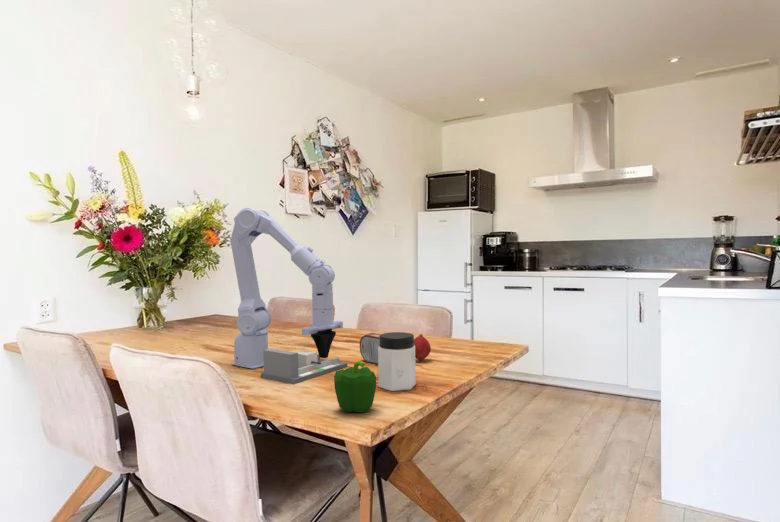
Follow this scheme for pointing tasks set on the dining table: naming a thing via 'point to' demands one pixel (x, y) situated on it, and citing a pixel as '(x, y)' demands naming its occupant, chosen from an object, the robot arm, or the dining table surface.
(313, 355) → the slider
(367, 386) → the bell pepper
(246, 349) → the robot arm
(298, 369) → the gauge rail
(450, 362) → the dining table surface
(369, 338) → the tin
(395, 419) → the dining table surface
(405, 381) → the jar
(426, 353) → the onion
